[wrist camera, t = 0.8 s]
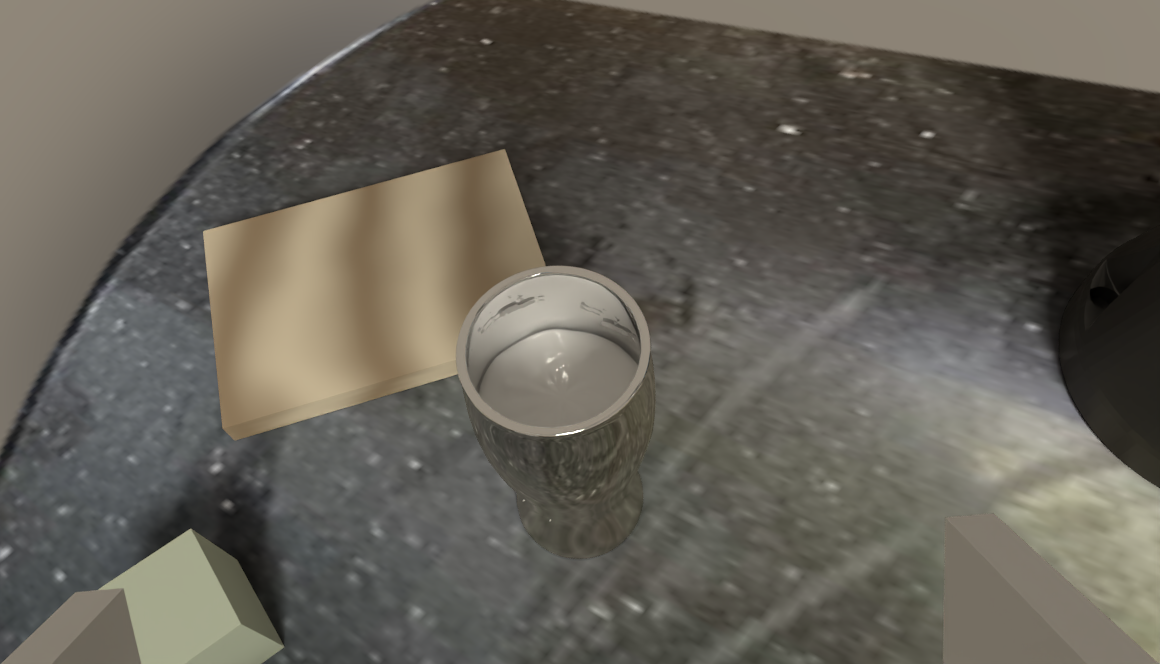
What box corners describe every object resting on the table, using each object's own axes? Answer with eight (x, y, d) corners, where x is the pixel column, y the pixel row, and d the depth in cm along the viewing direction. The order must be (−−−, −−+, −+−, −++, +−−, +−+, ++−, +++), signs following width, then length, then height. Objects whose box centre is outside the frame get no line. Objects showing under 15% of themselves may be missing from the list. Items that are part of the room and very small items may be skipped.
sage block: (238, 560, 41) (190, 528, 37) (285, 647, 39) (241, 624, 35) (140, 626, 40) (80, 601, 36) (184, 720, 38) (125, 705, 33)
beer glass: (534, 416, 44) (489, 242, 31) (667, 449, 43) (679, 282, 30) (488, 547, 41) (417, 413, 28) (631, 587, 39) (627, 466, 26)
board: (508, 165, 52) (504, 148, 51) (569, 340, 46) (567, 326, 45) (214, 246, 51) (203, 231, 49) (234, 440, 44) (222, 428, 43)
